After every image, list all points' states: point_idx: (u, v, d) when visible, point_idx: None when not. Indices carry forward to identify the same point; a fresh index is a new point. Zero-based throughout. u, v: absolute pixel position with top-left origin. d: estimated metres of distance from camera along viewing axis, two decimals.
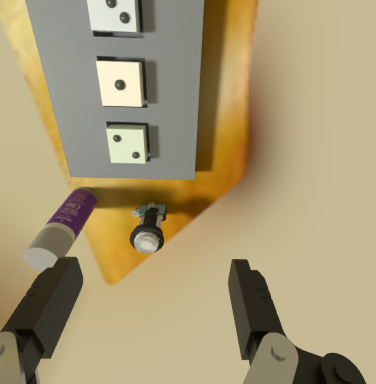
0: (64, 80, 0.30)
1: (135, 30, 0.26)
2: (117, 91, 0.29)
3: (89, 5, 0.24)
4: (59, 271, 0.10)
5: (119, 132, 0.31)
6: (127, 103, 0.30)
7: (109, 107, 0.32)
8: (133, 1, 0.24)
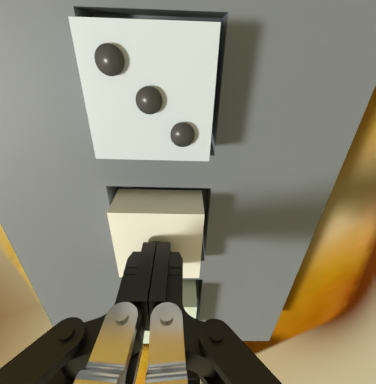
0: (39, 224, 0.14)
1: (207, 158, 0.10)
2: None
3: (90, 107, 0.09)
4: (148, 254, 0.11)
5: None
6: None
7: None
8: (211, 97, 0.09)
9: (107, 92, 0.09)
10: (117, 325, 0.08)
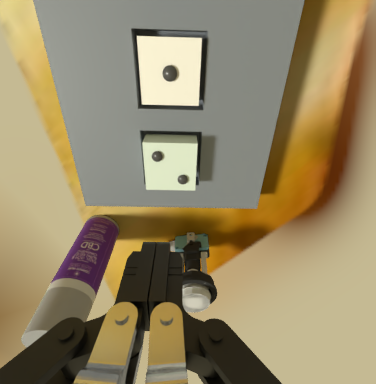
0: (79, 68, 0.19)
1: None
2: (166, 83, 0.19)
3: None
4: (148, 254, 0.11)
5: (162, 147, 0.21)
6: (178, 101, 0.20)
7: (146, 109, 0.21)
8: None
9: None
10: (117, 325, 0.08)
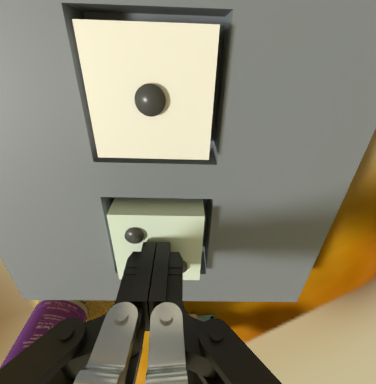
0: None
1: None
2: (143, 119, 0.09)
3: None
4: (148, 254, 0.11)
5: (142, 222, 0.12)
6: (169, 152, 0.10)
7: (109, 163, 0.11)
8: None
9: None
10: (117, 325, 0.08)
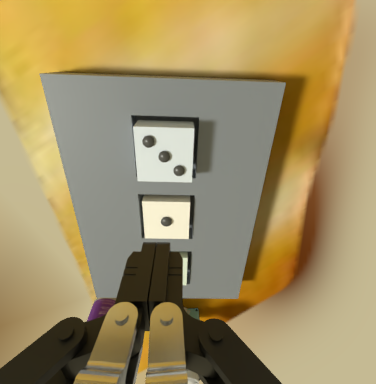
0: (97, 216, 0.25)
1: (190, 181, 0.21)
2: (163, 226, 0.25)
3: (138, 159, 0.20)
4: (148, 254, 0.11)
5: None
6: (172, 236, 0.26)
7: (148, 238, 0.27)
8: (191, 155, 0.20)
9: (146, 153, 0.20)
10: (117, 325, 0.08)
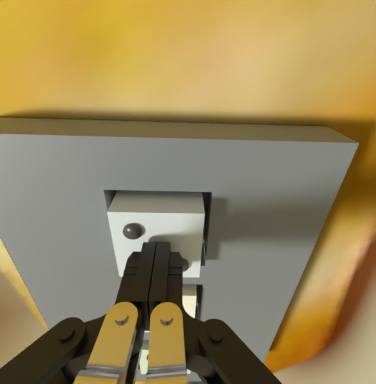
0: (67, 306, 0.18)
1: (197, 276, 0.14)
2: None
3: (117, 251, 0.13)
4: (148, 254, 0.11)
5: None
6: None
7: None
8: (200, 246, 0.13)
9: (129, 244, 0.13)
10: (117, 325, 0.08)
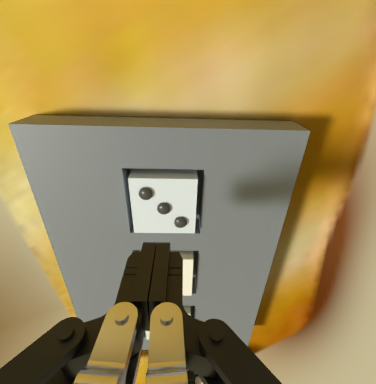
0: (86, 272, 0.22)
1: (193, 232, 0.19)
2: None
3: (134, 211, 0.18)
4: (148, 254, 0.11)
5: None
6: None
7: None
8: (195, 206, 0.18)
9: (142, 205, 0.18)
10: (117, 325, 0.08)
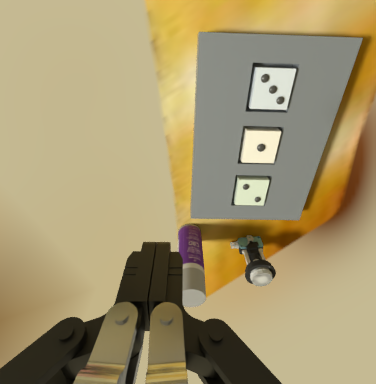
0: (210, 144, 0.35)
1: (286, 108, 0.32)
2: (257, 152, 0.35)
3: (254, 91, 0.30)
4: (148, 254, 0.11)
5: (249, 182, 0.37)
6: (262, 161, 0.36)
7: (241, 164, 0.36)
8: (290, 88, 0.30)
9: (261, 87, 0.30)
10: (117, 325, 0.08)
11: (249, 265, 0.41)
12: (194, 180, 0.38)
